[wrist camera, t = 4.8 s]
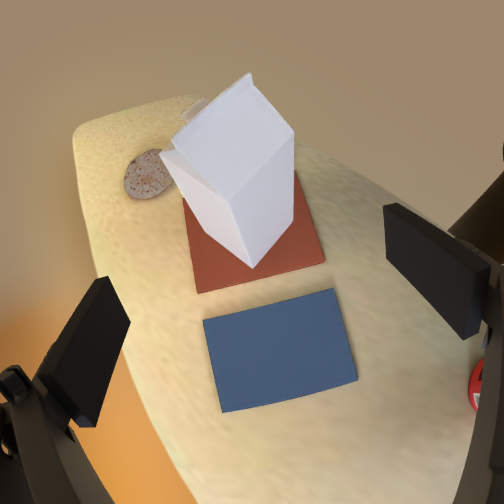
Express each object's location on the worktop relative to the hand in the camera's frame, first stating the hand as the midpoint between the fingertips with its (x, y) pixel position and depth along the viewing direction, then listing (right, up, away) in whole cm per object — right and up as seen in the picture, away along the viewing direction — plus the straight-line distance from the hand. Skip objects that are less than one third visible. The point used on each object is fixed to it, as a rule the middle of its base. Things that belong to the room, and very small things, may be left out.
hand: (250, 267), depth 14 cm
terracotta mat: (0, +3, +22) cm, 22 cm away
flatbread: (-13, +11, +26) cm, 31 cm away
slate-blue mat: (+3, -9, +17) cm, 20 cm away
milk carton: (0, +3, +22) cm, 22 cm away
